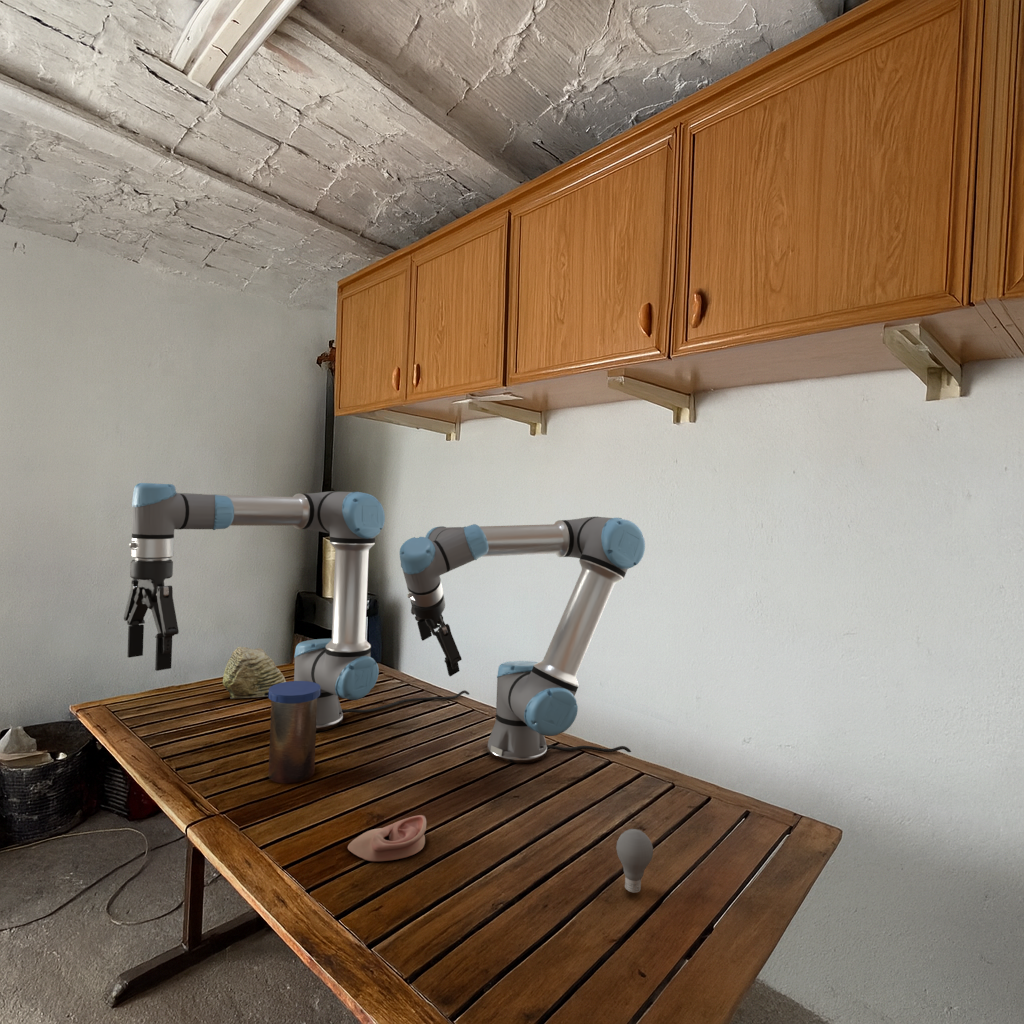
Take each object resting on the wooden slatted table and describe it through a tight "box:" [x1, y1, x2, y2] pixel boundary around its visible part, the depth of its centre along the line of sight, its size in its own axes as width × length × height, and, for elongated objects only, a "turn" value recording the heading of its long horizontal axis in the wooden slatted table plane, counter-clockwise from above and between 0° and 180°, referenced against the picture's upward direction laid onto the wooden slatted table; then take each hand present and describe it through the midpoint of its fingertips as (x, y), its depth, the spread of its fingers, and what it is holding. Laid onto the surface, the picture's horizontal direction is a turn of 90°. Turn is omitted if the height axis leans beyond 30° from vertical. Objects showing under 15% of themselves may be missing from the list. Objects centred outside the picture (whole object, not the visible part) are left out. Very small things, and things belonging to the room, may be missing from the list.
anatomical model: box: [347, 814, 427, 862], centre depth 116 cm, size 13×4×12 cm
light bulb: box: [615, 828, 654, 894], centre depth 106 cm, size 6×6×10 cm
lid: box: [267, 680, 321, 703], centre depth 144 cm, size 11×11×2 cm
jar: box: [268, 698, 317, 784], centre depth 144 cm, size 10×10×19 cm
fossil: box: [222, 646, 287, 699], centre depth 198 cm, size 9×18×15 cm, turn 132°
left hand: (148, 662), depth 129 cm, fingers open, 13 cm apart
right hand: (439, 654), depth 157 cm, fingers open, 13 cm apart
